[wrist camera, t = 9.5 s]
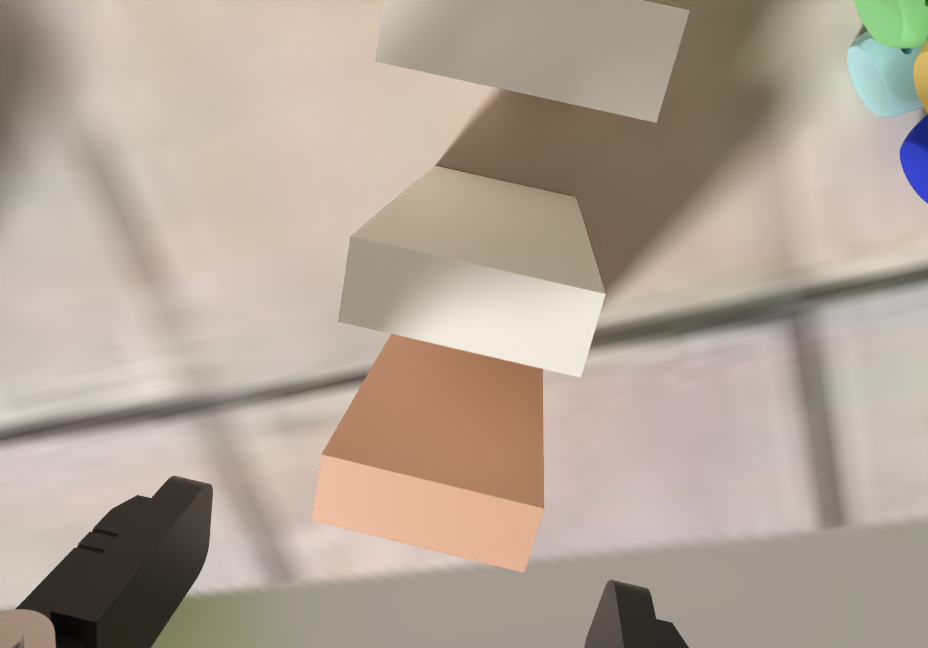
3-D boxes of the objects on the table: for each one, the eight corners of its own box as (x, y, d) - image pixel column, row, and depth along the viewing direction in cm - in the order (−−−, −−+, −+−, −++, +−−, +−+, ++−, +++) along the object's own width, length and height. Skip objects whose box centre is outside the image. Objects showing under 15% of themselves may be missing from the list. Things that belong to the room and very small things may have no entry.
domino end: (411, 298, 25) (321, 454, 15) (542, 329, 25) (543, 508, 14) (403, 341, 25) (311, 520, 15) (530, 372, 25) (524, 572, 15)
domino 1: (464, 9, 21) (391, -54, 11) (617, 43, 21) (690, 9, 11) (453, 68, 22) (375, 60, 12) (601, 101, 22) (656, 123, 11)
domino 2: (435, 165, 23) (350, 236, 13) (576, 197, 23) (605, 294, 13) (425, 216, 24) (338, 321, 13) (562, 247, 24) (580, 377, 13)
